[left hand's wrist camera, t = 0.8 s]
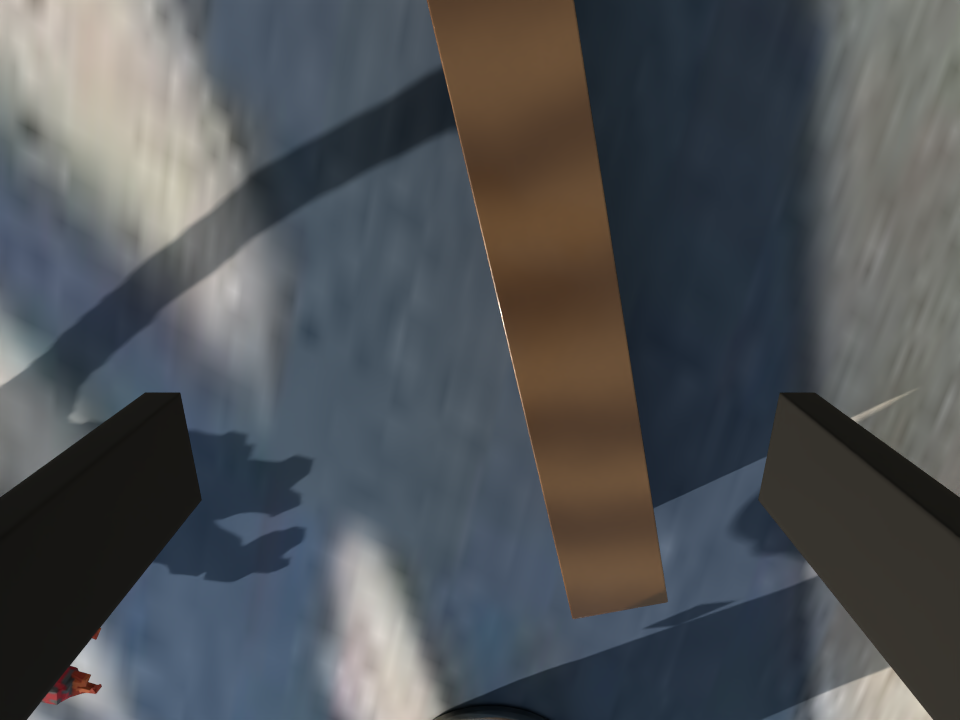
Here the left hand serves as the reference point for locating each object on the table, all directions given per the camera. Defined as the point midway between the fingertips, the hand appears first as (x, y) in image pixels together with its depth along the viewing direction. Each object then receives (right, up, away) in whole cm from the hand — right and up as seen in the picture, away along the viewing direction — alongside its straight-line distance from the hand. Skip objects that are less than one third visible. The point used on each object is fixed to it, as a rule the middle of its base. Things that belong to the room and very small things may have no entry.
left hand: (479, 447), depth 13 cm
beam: (+1, +19, +16) cm, 25 cm away
